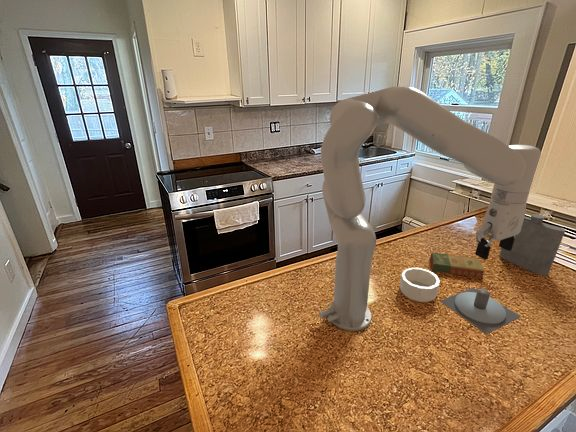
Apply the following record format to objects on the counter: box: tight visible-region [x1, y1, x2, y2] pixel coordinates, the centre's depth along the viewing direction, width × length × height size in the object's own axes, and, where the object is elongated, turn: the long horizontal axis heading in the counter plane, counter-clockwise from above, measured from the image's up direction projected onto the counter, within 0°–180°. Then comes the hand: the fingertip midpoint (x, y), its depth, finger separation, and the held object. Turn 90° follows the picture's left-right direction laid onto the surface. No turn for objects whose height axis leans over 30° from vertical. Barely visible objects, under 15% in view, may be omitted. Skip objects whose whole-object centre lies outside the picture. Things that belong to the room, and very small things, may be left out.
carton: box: [429, 252, 485, 279], centre depth 109 cm, size 8×16×4 cm, turn 71°
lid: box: [455, 288, 506, 324], centre depth 89 cm, size 13×13×6 cm
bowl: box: [399, 267, 441, 303], centre depth 97 cm, size 11×11×6 cm
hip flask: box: [499, 213, 566, 277], centre depth 107 cm, size 16×4×20 cm, turn 29°
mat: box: [440, 287, 522, 335], centre depth 90 cm, size 15×15×1 cm
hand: (493, 252), depth 84 cm, fingers open, 9 cm apart
